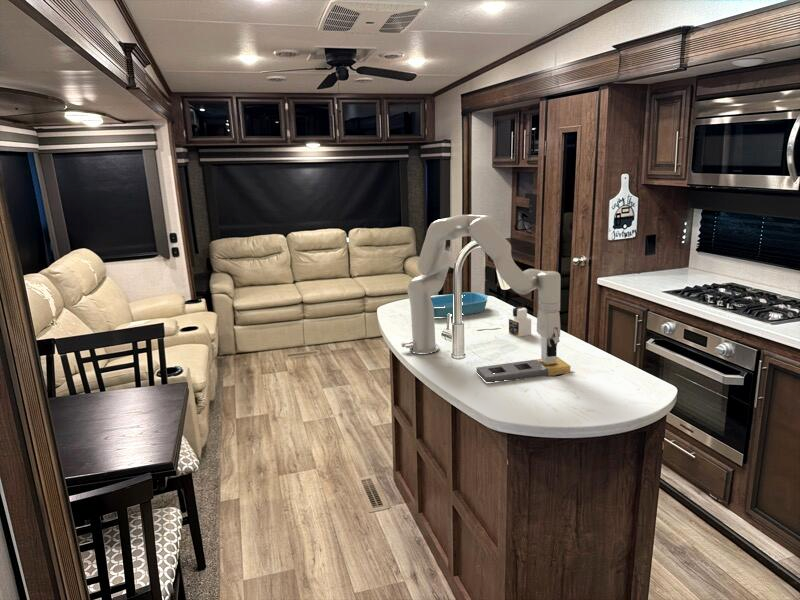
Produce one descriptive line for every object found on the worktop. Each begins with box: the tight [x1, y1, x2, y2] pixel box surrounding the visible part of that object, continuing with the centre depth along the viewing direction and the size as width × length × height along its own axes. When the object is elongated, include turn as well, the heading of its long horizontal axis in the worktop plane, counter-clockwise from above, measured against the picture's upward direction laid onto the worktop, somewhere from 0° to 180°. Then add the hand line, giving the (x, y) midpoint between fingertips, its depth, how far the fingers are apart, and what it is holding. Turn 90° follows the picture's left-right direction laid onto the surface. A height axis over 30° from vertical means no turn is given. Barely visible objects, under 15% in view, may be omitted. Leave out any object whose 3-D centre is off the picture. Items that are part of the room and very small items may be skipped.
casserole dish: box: [431, 291, 488, 318], centre depth 281 cm, size 37×22×7 cm, turn 107°
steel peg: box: [540, 335, 558, 365], centre depth 199 cm, size 4×4×10 cm
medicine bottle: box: [508, 306, 532, 338], centre depth 241 cm, size 7×7×12 cm
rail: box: [476, 356, 571, 382], centre depth 199 cm, size 32×10×2 cm, turn 101°
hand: (548, 353), depth 199 cm, fingers closed on steel peg, 4 cm apart
